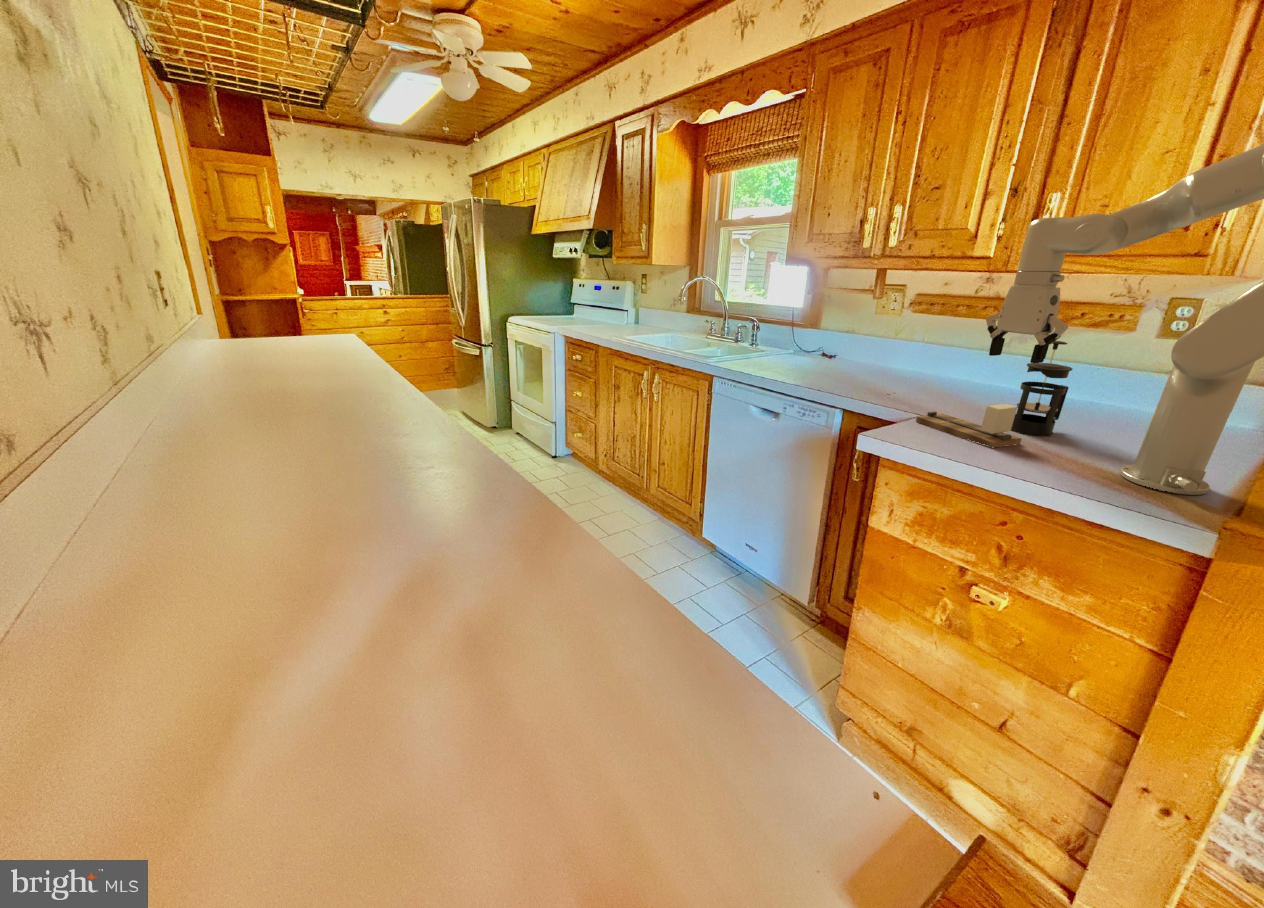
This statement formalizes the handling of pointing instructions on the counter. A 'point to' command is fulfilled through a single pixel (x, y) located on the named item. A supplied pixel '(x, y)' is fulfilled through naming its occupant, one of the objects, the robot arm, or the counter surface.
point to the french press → (1036, 423)
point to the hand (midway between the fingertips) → (1014, 358)
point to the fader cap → (998, 418)
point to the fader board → (966, 430)
